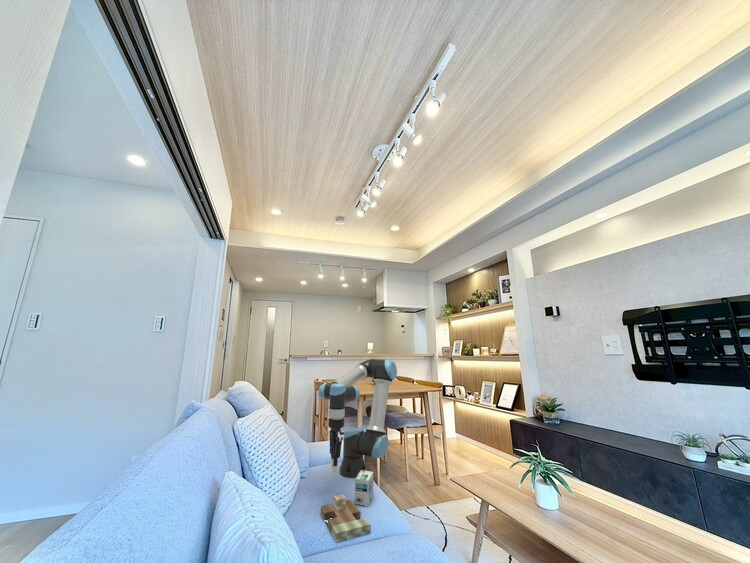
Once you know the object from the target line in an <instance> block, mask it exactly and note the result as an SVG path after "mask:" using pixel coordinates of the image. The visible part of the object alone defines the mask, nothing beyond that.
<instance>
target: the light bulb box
mask: <svg viewBox="0 0 750 563" xmlns="http://www.w3.org/2000/svg"><path fill="white" fill-rule="evenodd" d="M354 483H355V486H354V487H355V488H354V491H355V492H354V493H355V494H354V504H360V505H367V506H368V507H369V506H370V504H371V502H372V500H373V497H374V471H369V470H366V471H363V470H361V471H360V473H359V474H358V476H357V477H355V482H354ZM360 505H359V506H360ZM367 506H366V507H367Z"/></svg>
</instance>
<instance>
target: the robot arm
mask: <svg viewBox="0 0 750 563" xmlns="http://www.w3.org/2000/svg"><path fill="white" fill-rule="evenodd" d="M397 369H398V368H397V365H396V363H395V361H393V359H382V358H381V359H378V358H371V359H367V360H365V361H362V362H359V363H358V364H357V365H355V366H354V368H353V369H352V370H350V371H348V372H346V373H344V374H343V375H342V376H340V377H337V379H335V380H334V381H331V382H330V383H322V384H321V385H320V386H319V388H318V391H317V393H318V397H319V398H321V399H322V400H329V406H328V411H327V413H328V417H329V418H328V423H327V427H328V428H330V429H331V430H329V431H328V435H329V454H330V461H331V462H330V474H331V475H335V474H338V463H339V458H341V453H343V455H342V460H341V463H340V465H339V474H340V475H341V476H342V477H345V478H356V477H357V476H358V474H359V473H360V471H361V470H363V471H367V468H366V467H367V466H366V463H365V459H364V456H367V457H370V458H373V459H375V458H376V459H382V458H383V457H384V456H385V454H387V451H388V448H389V445H390V444H389V442H390V440H389V437H388V436H387V435H386V434H387V433H386V432H387V431H386V430H385V420H386V413H387V406H388V397H389V391H390V385H392V384H393V380H396V379H397V376H398V370H397ZM365 379H373V382H374V383H375V386H374V390H373V396H372V405H371V412H370V419H369V424H368V426H367V427H366V428H365V429H364V427H360V426H358V427H351V428H347V429H345V430H344V433H343V436H342V431H341V428H344V426H345V416H346V415H345V412H346V407H345V406H346V403H347V404H348V403H350V402H352V403H353V402H355V401H357V400H358V399H359V398H360V395H361V391H360V388H359V387H358V386H355V384H356V383H357V382H359V381H361V380H365ZM342 444H343V446H342ZM342 447H343V450H342ZM341 450H342V452H341Z"/></svg>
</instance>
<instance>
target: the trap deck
mask: <svg viewBox="0 0 750 563" xmlns="http://www.w3.org/2000/svg"><path fill="white" fill-rule="evenodd" d="M357 506H358V505H355V502H354V501H353V500H352V499H348V500H347V499H346V509H343V510H339V511H336V509H335V508H334V502H333V503H329V504H325V505H321V506H320V512H319V513H321V514H320V516H321V515H322V516H321V518H322V517H323V518H322V519H324V520H328V523H327V522H326V523H325V525H326V524H327V525H326V527H327V529H328V531H329V532H330V535H331V536H332V538H333V540H334V541H335V543H336V544H337V543H341V542H344V541H347V540H351V539H355V538H358V537H361V536H365V535H369V534H371V533H372V532H371V530H372V528H371V527H372V526H371V525H372V524H371V523H370V521H369V520H368V519H367V518H366V517H362V518H361V516H362V515H361V510H360V508H358V507H357ZM330 518H332V519H330ZM324 520H323V521H324Z"/></svg>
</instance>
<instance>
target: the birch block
mask: <svg viewBox="0 0 750 563" xmlns="http://www.w3.org/2000/svg"><path fill="white" fill-rule="evenodd" d="M346 500H347V499H346V496H345V495H344V494H337V495H334V496H333V503H334V508H335V509H336V511H339V510H343V509H346Z"/></svg>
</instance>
